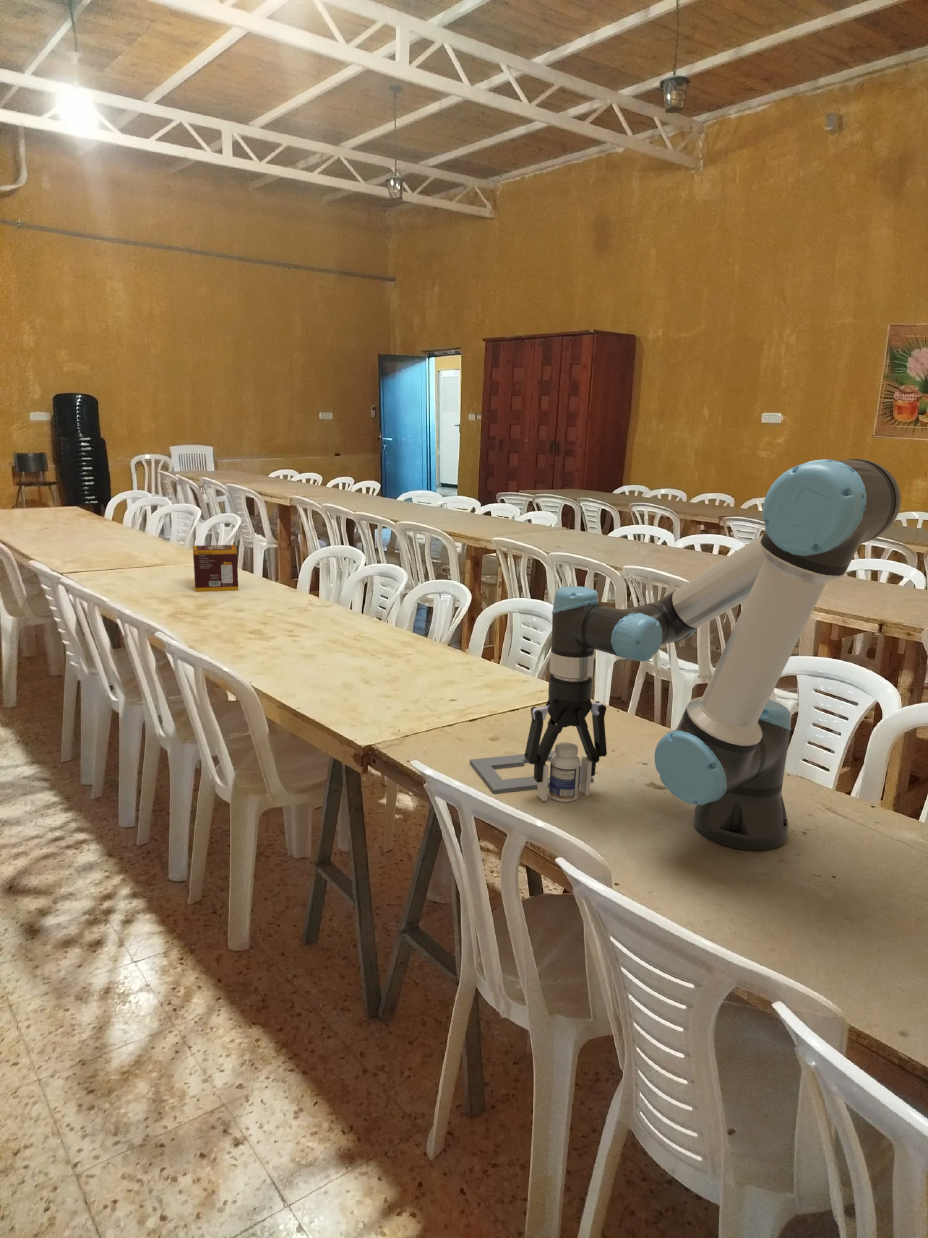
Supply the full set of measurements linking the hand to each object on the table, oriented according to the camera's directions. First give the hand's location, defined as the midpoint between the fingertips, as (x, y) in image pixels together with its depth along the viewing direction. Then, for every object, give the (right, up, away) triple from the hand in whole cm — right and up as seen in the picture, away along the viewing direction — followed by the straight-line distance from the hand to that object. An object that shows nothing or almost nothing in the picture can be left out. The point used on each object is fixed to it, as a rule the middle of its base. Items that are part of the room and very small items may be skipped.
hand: (563, 794), depth 154 cm
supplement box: (-110, +43, +162) cm, 200 cm away
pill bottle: (0, 0, 0) cm, 0 cm away
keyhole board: (-5, +2, +10) cm, 11 cm away
